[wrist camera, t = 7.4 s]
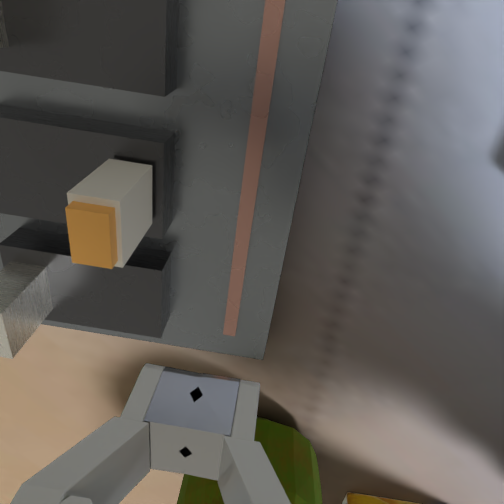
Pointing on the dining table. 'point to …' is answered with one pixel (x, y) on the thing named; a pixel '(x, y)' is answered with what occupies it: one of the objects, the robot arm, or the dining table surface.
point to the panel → (212, 160)
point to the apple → (282, 460)
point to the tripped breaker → (109, 213)
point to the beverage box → (370, 499)
